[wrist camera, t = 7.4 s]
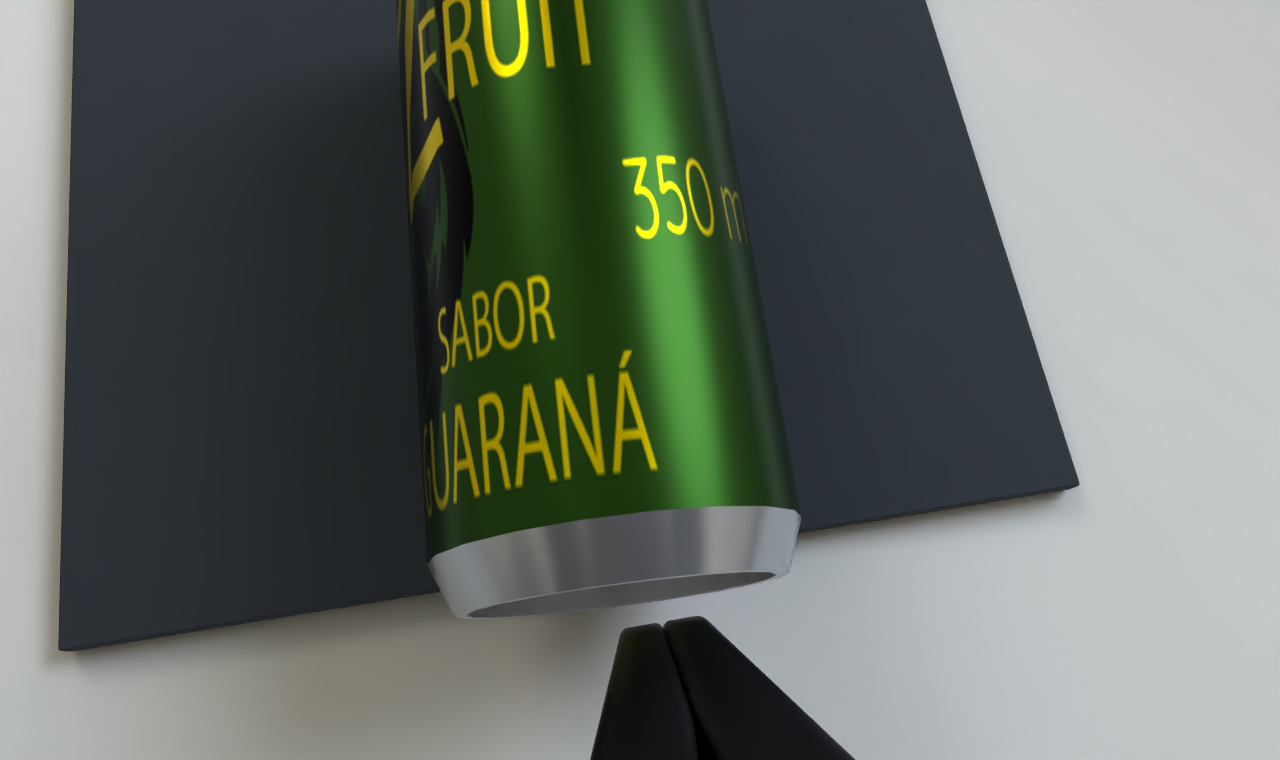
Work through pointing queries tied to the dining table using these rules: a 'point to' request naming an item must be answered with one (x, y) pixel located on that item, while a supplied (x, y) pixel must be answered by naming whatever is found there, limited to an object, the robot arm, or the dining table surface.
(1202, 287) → the dining table surface
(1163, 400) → the dining table surface
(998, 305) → the mat
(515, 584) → the guarana soda can
